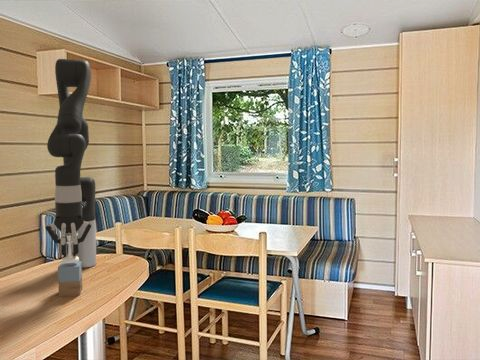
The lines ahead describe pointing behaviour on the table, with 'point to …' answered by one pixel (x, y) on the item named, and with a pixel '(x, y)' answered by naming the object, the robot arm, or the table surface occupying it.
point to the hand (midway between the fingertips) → (70, 255)
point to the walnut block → (70, 288)
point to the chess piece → (70, 251)
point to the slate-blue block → (69, 272)
